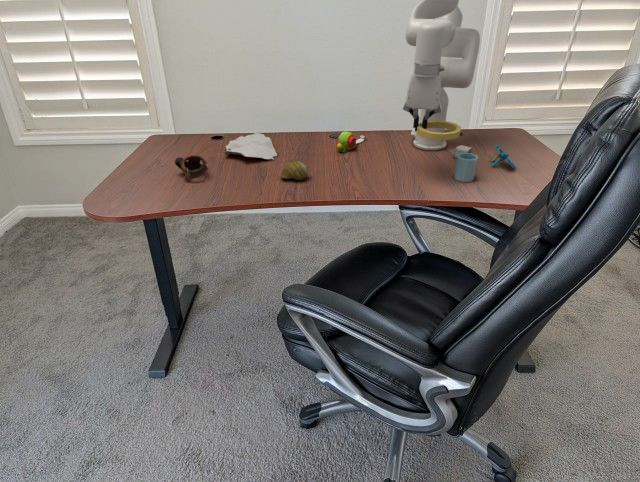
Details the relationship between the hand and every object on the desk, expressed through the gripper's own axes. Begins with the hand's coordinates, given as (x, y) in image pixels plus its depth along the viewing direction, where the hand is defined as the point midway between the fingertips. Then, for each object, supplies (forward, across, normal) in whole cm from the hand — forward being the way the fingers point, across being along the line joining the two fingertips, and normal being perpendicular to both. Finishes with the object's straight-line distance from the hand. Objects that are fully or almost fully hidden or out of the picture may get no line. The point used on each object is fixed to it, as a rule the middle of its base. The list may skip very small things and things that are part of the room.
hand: (419, 130), depth 136 cm
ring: (+1, -6, 0) cm, 6 cm away
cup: (+15, -16, 0) cm, 22 cm away
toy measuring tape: (+15, +27, -19) cm, 36 cm away
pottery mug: (+15, +72, +23) cm, 77 cm away
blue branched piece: (+15, -28, -14) cm, 35 cm away
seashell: (+15, +38, +16) cm, 43 cm away
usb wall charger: (+15, -14, -18) cm, 27 cm away
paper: (+15, +62, -1) cm, 64 cm away
